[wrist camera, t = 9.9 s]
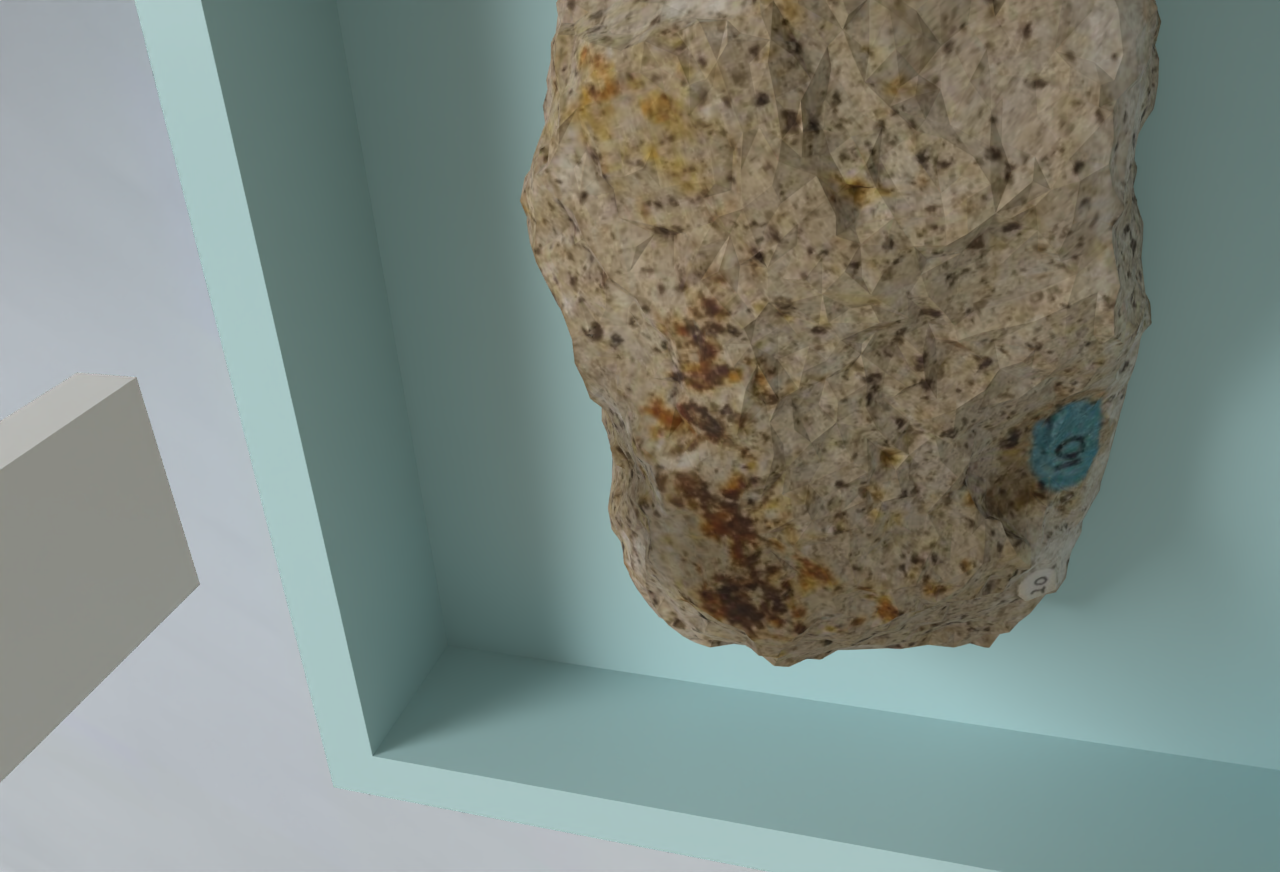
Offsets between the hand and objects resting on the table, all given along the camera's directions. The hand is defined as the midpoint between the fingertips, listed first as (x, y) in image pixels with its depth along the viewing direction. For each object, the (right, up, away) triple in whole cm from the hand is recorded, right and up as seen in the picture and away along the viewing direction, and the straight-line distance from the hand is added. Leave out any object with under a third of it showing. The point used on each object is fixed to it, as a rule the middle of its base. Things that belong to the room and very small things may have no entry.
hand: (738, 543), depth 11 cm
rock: (+3, +4, +6) cm, 7 cm away
